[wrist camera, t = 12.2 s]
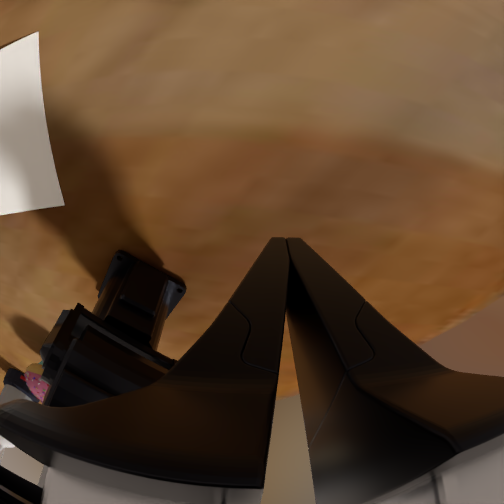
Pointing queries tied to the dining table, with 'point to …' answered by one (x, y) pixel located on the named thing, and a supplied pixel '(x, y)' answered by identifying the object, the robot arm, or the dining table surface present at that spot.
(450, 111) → the dining table surface
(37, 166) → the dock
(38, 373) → the cupcake
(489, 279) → the dining table surface
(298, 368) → the robot arm
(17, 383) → the humidifier
